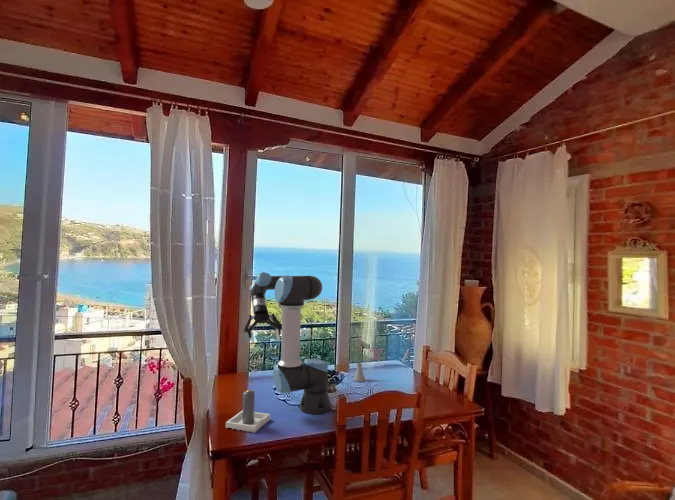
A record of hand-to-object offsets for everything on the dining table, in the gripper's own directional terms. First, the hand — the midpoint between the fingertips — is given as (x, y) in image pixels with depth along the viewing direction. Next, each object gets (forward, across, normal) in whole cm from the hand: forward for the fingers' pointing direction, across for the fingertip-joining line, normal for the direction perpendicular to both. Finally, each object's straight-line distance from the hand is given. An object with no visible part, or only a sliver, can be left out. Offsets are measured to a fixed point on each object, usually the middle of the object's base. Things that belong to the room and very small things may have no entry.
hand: (266, 341), depth 208 cm
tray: (+40, +14, -2) cm, 42 cm away
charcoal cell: (+39, +14, -2) cm, 42 cm away
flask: (+14, -58, -28) cm, 66 cm away
